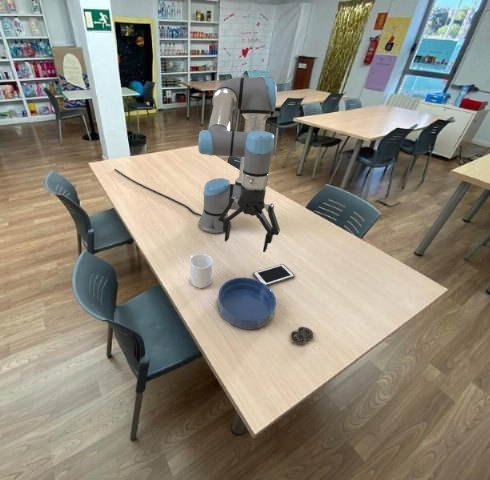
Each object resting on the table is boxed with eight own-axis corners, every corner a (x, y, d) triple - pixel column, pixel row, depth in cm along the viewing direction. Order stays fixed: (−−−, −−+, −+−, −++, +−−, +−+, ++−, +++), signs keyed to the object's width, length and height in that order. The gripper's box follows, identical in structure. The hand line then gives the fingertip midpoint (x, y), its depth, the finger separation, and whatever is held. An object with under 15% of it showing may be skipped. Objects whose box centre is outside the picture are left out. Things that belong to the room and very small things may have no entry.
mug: (181, 272, 112) (181, 252, 106) (199, 265, 116) (199, 245, 109) (197, 291, 104) (198, 271, 98) (215, 283, 107) (217, 263, 101)
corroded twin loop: (286, 335, 89) (286, 333, 88) (304, 326, 92) (305, 324, 91) (297, 348, 85) (298, 346, 84) (316, 337, 88) (317, 335, 88)
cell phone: (252, 274, 111) (252, 272, 111) (282, 265, 116) (283, 263, 115) (263, 287, 106) (263, 285, 105) (294, 277, 110) (295, 275, 110)
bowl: (206, 301, 100) (207, 291, 97) (245, 280, 109) (247, 270, 106) (244, 340, 87) (246, 330, 84) (285, 312, 96) (288, 302, 93)
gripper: (210, 182, 87) (207, 240, 98) (293, 199, 78) (279, 260, 89) (220, 175, 93) (216, 230, 104) (298, 189, 83) (284, 248, 95)
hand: (245, 244), depth 96 cm, fingers open, 13 cm apart
